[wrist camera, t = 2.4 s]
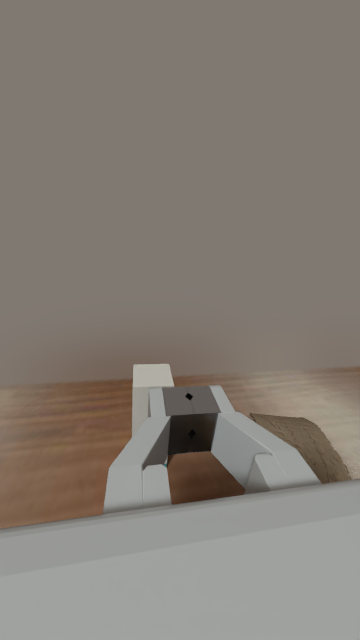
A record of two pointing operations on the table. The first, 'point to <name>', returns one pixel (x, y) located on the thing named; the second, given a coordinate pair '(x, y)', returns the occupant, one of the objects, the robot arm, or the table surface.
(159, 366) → the block
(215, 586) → the robot arm
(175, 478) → the table surface
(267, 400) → the table surface
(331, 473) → the clay tablet
